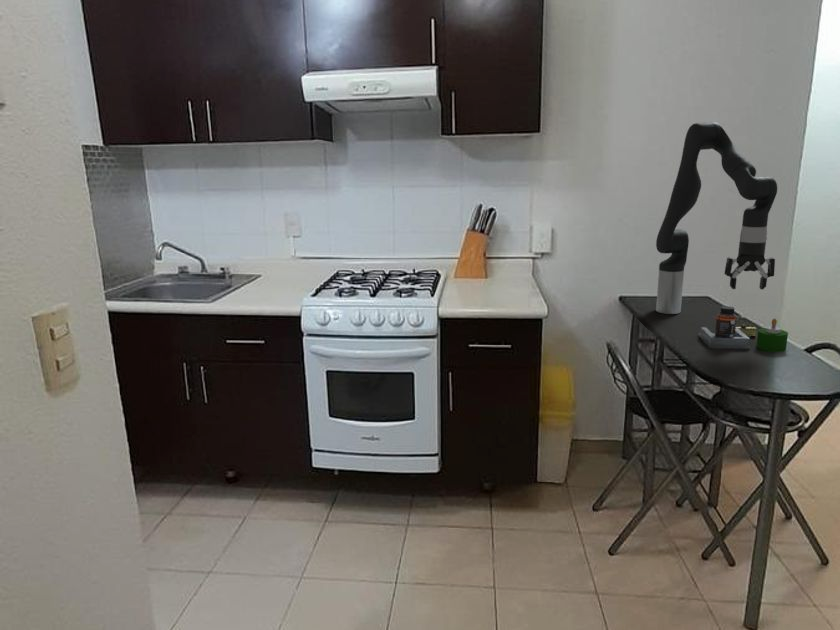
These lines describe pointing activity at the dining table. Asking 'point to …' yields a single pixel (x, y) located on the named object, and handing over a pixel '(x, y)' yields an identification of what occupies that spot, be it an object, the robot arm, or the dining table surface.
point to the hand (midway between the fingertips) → (747, 288)
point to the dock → (725, 340)
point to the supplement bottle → (726, 322)
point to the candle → (772, 338)
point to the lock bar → (748, 330)
